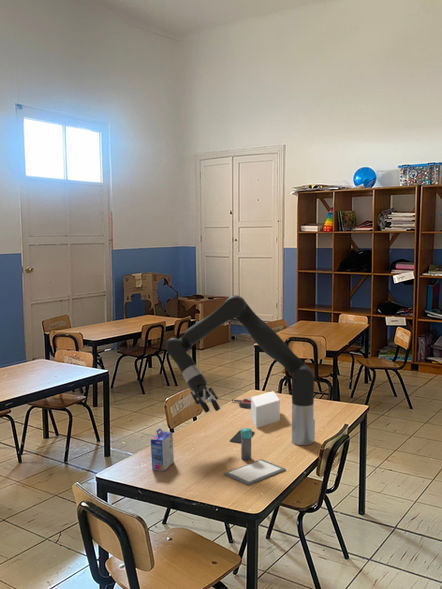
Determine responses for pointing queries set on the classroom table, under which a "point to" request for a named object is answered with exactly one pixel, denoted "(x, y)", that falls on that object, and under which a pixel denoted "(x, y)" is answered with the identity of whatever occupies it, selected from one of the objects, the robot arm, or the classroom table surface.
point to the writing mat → (254, 472)
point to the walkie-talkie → (244, 403)
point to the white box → (265, 409)
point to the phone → (238, 437)
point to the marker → (246, 444)
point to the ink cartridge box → (162, 450)
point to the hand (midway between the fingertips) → (213, 410)
